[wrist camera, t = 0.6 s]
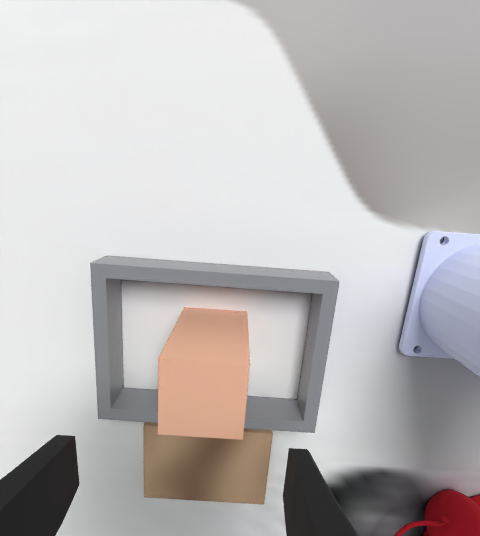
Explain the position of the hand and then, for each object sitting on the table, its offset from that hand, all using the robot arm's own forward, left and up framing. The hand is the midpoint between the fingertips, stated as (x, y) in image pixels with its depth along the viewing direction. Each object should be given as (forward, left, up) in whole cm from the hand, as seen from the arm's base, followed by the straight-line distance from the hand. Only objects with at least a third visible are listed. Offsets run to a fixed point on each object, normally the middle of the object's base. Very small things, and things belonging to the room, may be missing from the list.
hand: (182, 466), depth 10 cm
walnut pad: (0, +10, -9) cm, 14 cm away
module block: (0, 0, -9) cm, 9 cm away
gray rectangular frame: (0, 0, -9) cm, 9 cm away
